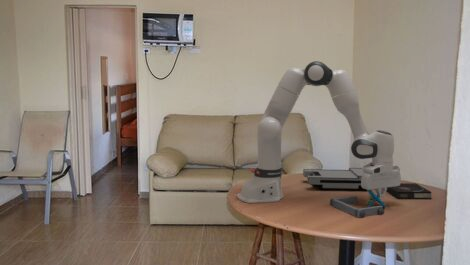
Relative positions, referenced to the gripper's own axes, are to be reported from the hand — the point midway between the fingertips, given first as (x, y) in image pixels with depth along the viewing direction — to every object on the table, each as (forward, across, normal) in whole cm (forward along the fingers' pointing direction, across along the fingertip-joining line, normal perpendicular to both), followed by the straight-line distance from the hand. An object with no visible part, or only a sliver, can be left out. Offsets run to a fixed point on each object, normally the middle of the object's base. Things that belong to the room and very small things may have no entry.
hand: (380, 197), depth 192 cm
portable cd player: (+5, -26, -10) cm, 28 cm away
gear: (+4, +3, 0) cm, 5 cm away
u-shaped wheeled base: (+4, +13, 0) cm, 14 cm away
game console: (+4, -3, -36) cm, 37 cm away
